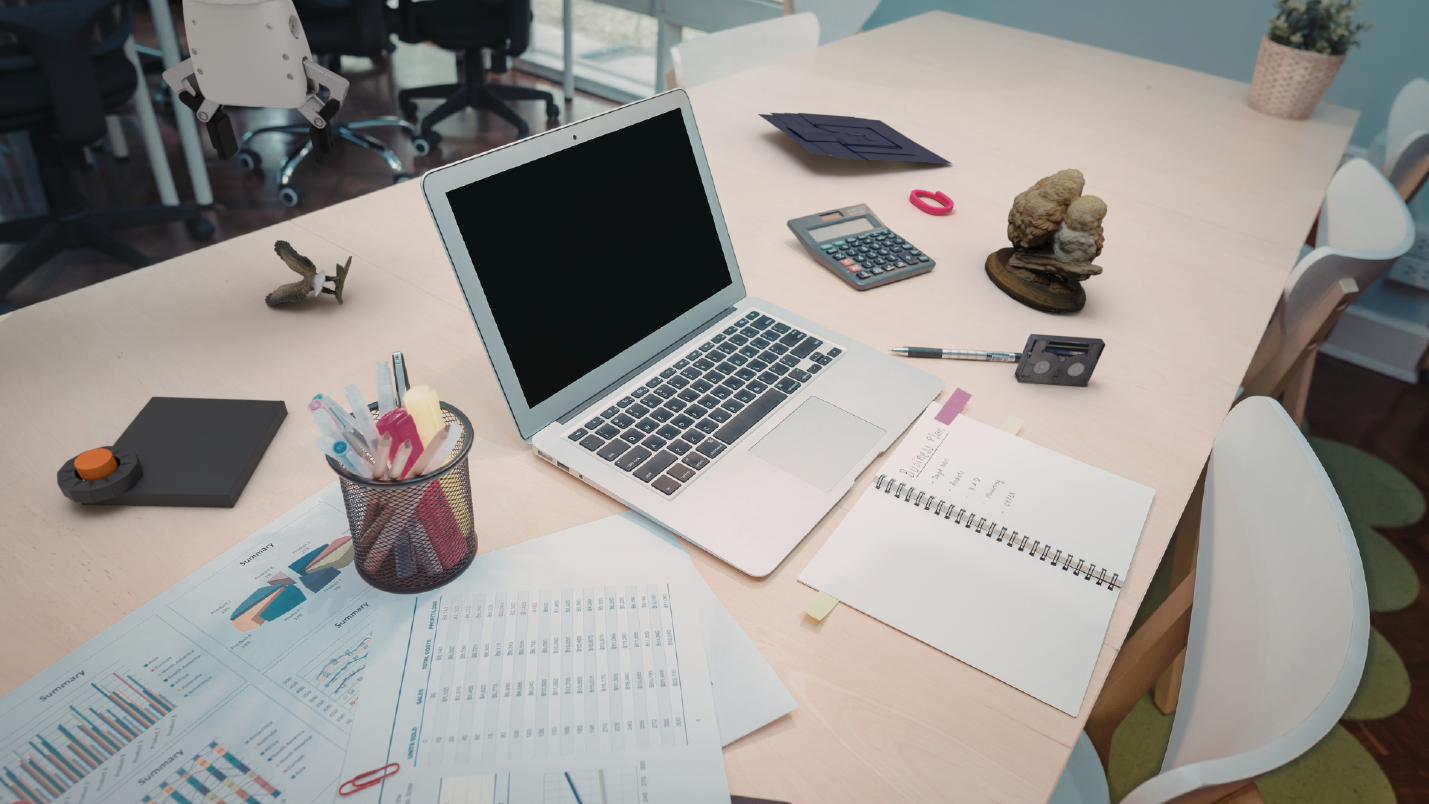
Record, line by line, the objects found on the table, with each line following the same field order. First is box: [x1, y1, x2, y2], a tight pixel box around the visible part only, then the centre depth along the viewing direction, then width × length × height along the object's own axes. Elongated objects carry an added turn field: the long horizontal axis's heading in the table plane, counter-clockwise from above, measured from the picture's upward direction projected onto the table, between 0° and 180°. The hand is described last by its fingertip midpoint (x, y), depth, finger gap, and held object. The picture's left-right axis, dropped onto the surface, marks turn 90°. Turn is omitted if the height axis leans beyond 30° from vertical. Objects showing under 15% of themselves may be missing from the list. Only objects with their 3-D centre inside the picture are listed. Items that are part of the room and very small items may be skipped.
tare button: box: [74, 447, 117, 481], centre depth 67 cm, size 3×3×1 cm
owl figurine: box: [984, 168, 1108, 314], centre depth 109 cm, size 18×12×17 cm, turn 19°
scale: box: [56, 396, 289, 509], centre depth 72 cm, size 13×14×3 cm
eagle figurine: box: [264, 239, 353, 306], centre depth 94 cm, size 8×7×9 cm
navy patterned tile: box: [757, 112, 954, 165], centre depth 151 cm, size 24×30×4 cm
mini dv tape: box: [1014, 333, 1106, 388], centre depth 93 cm, size 8×2×6 cm, turn 90°
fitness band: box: [909, 189, 955, 216], centre depth 133 cm, size 8×6×2 cm
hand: (277, 158), depth 85 cm, fingers open, 9 cm apart
